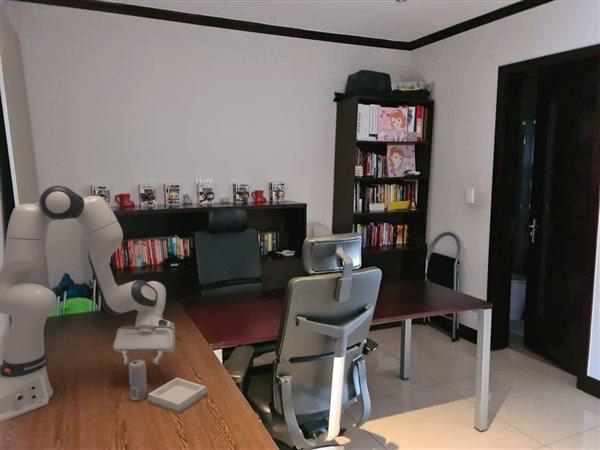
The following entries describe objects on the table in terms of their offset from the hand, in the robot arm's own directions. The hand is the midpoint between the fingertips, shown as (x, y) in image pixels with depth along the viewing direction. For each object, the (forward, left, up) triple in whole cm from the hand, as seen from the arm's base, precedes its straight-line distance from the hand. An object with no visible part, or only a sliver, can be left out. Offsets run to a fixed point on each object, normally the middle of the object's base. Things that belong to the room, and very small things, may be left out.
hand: (140, 364), depth 154 cm
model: (+35, +25, -11) cm, 44 cm away
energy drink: (-3, -2, -10) cm, 11 cm away
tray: (+3, -14, -10) cm, 17 cm away
